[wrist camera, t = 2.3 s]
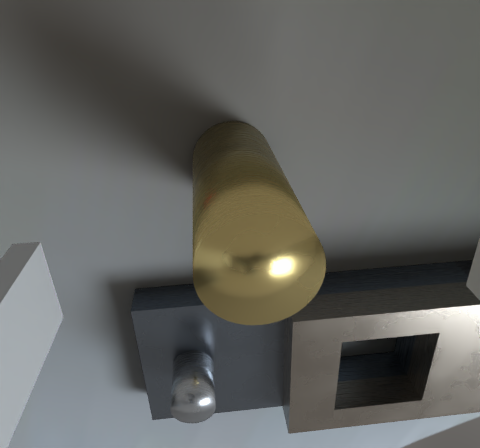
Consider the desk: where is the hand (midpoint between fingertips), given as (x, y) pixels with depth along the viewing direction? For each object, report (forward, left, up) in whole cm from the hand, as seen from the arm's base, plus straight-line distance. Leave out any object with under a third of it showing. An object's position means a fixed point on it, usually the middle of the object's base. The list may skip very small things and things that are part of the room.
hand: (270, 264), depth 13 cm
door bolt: (+8, -12, -10) cm, 17 cm away
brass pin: (0, 0, -10) cm, 10 cm away
